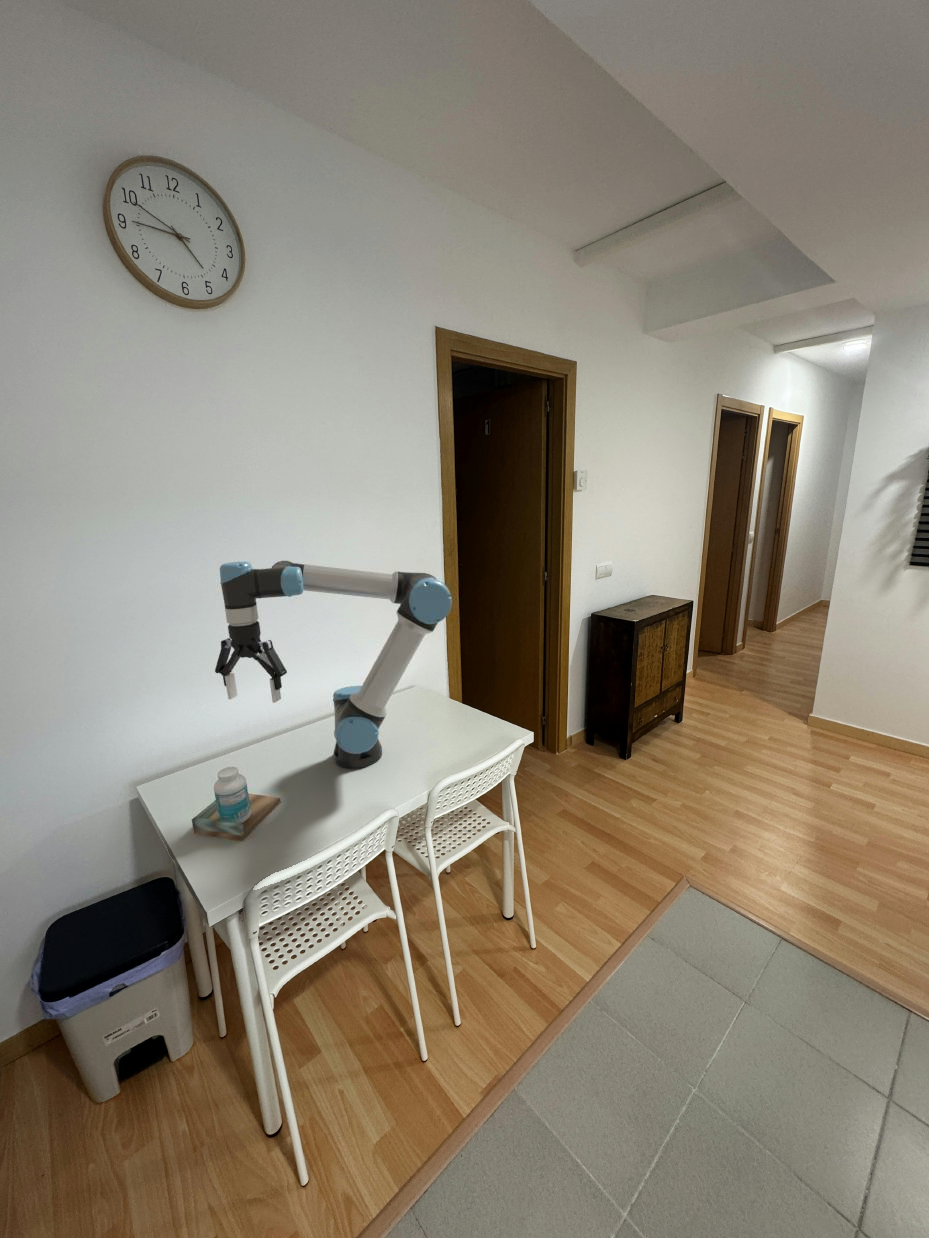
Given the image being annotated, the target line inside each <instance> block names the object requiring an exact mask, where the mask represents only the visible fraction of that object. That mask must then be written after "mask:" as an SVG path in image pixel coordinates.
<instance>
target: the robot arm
mask: <svg viewBox="0 0 929 1238" xmlns="http://www.w3.org/2000/svg"><path fill="white" fill-rule="evenodd" d="M219 576H220V586H221V592H222V597H223V603H224V612H225V618H226V623H227V624H228V626H227V630H228V636H229V637H228V638H226V639H225V638H224V639H222V640H221V641H220V651H219V656H218V658H217V662H216V666H215V668H214V672H215V673H216V674H220V675H221V676H222V680H223V685H224V687H226V692H227V698H228V700H233V699H234V698H236V697H237V696H238V690H237V683H236V677H235V673H234V672H233V670H234V668H235V666H236V665H237V664H238V662H239V660H240V659H241V658H243V659H244V658H248V659H252V658H253V661H257V663H258V664H259V665H260V666H261V667H262V668H263V670H265V672H266V673H267V674H268V675H269V676H270V677H271V678H269V684H270V685H269V687H270V693H271V700H272V703H273V704H275V703H277V702H279V701H280V700H282V695H281V689H282V687H283V685H282V678H281V677H283V676H284V675H287V673H288V671H287V669H286V667H285V666H284V664H283V662H282V660H281V659H280V656H279V654H277V652H276V650H275V648H274V644H273V641H272V639H268V640H265V641H262V640H261V634H262V633H261V625H260V622H259V621H258V620H259V614H258V605H257V604H258V603H257V599H268V598H282V597H289V598H290V597H292V596H300V595H302V594H303V593H304V591H305V592H314V593H315V592H317V593H325V594H334V595H343V596H351V597H354V596H355V597H364V598H372V599H381V600H383V599H384V600H389V601H390V602H391V604H399V607H398V609H397V610H396V615H397V622H396V624H395V625H394V627H393V629H392V631H391V633H390V634H389V636H388V638H387V639H386V642H385V643H384V645H383V647H382V649H381V651H380V653H379V654H378V656H377V658H376V660H375V661H374V663H373V665H372V667H371V668H370V671H369V673H368V674H367V676H366V678H365V679H364V681H363V683H362V685H351V686H345V687H342V688H338V689H335V691H334V692H333V694H332V698H333V699H332V701H333V708H334V731H333V735H334V738H335V745H334V748H333V749H334V750H333V762H334V764H335V765H337V766H338V767H341V768H343V769H360V768H365V767H368V766H371V765H373V764H375V763H377V762H378V761H379V760H380V759H381V758H382V755H383V747H382V744H381V742H380V739H379V735H380V733H379V732H380V731H379V729H380V727H381V726H382V724H383V722H384V720H385V718H386V716H387V710H386V705H387V704H388V702H389V701H390V699H391V697H392V694H393V692H394V691H395V689H396V687H397V686H398V684H399V683H400V681H401V679H402V677H403V675H404V674H405V671H406V669H408V666H409V665H410V662H411V661H412V659H413V657H414V656H415V654H416V652H417V650H418V648H419V647H420V645H421V643H422V641H423V639H424V638H425V636H426V635H427V634H430V633H433V632H434V630H435V629H436V627H437V625H438V624H439V623H440V622H442V621H443V620H444V619H446V618H447V616H448V615H449V613H450V612H451V608H452V604H453V600H452V595H451V592H450V590H449V588H448V586H447V585H446V584H445V583H444V582H443V581H441V580H440V579H438V578H436V577H435V576H434V575H431V574H429V573H428V572H427V573H426V572H408V571H396V570H395V571H394V572H393V573H391V574H389V573H385V572H384V573H383V572H373V571H366V570H359V569H358V570H356V569H350V568H349V569H347V568H340V567H331V566H322V565H315V564H303V563H297V562H292V561H289V560H280V561H277V562H275V563H273V565H272V566H271V567H270V568H269V567H268V568H253V567H252V564H251V562H249V561H231V562H226V563H222V564H221V565H220V566H219ZM232 648H233V651H232V654H230V653H231V650H232ZM229 657H230V658H229Z"/></svg>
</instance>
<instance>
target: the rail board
mask: <svg viewBox="0 0 929 1238" xmlns="http://www.w3.org/2000/svg"><path fill="white" fill-rule="evenodd" d="M248 796H249V802H250V807H251V815H250V817H249V818H248V819H247V820H246V821H245V822H243V823H241V824H238V823H231V822H224V821H220V819H219V814H218V809H217V803H216V799H214V801H212V802H211V803H209V805H208V806H207V807H205V808H204V809H202V810H201V811H200V812H199V813H198V814H197V815H195V816H193V818H192V819H191V823H192V828H193V833H194V834H195V835H200V836H201V835H202V836H207V837H208V836H209V837H214V838H219V839H220V838H221V839H227V840H234V841H240V842H243V841H244V840H245V839H246V838H247V837H248V836H249V835H250V834H251V833H252V832H253V831H254V830H255V829H256V828H257V827H258V826H259V825H260V824H261V823H262V822H263V821H264V820H265V819H266V818H267V817H268V816H269V815H270V814H271V813H272V812H273V811H274V810H276V808H278V806H279V805H280V804H281V803H282V801H281V797H279V796H270V795H263V794H261V795H260V794H254V793H248Z"/></svg>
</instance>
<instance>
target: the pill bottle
mask: <svg viewBox="0 0 929 1238" xmlns="http://www.w3.org/2000/svg"><path fill="white" fill-rule="evenodd" d="M247 784H248V783H247V780H246V777H245V776H244V775H243V774H240V772H239V769H238V767H236V766H228V767H225V768H223V769H220V770H219V771H218V772H217V780H216V781H215V783H214V785H213V792H214V797H215V800H216V803H217V809H218V814H219V819H220V821H224V822H231V823H238V824H241V823H243V822H245V821H246V820H247V819H248V818H249V817H250V815H251V807H250V802H249V796H248V794H249V791H248V785H247Z"/></svg>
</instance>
